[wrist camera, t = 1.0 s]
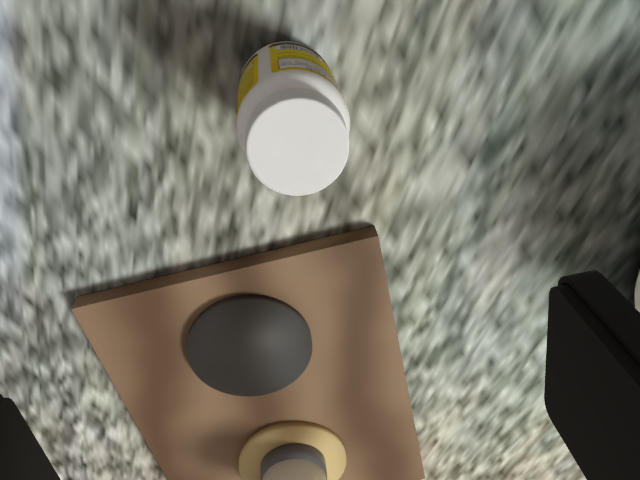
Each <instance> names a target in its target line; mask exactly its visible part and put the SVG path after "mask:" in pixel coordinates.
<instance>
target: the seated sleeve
mask: <svg viewBox="0 0 640 480" xmlns="http://www.w3.org/2000/svg"><path fill="white" fill-rule="evenodd" d="M260 480H327V470H326V462H325V458H324V455H323V454H322V453H321V452H320V451H319V450H318V449H317V448H315V447H313V446H311V445H308V444H303V443H289V444H284V445H281V446H278V447H276V448H274V449H272V450H271V451H269V452H268V453H267V454H266V455H265V456H264V457H263V459H262V461H261V465H260Z"/></svg>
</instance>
